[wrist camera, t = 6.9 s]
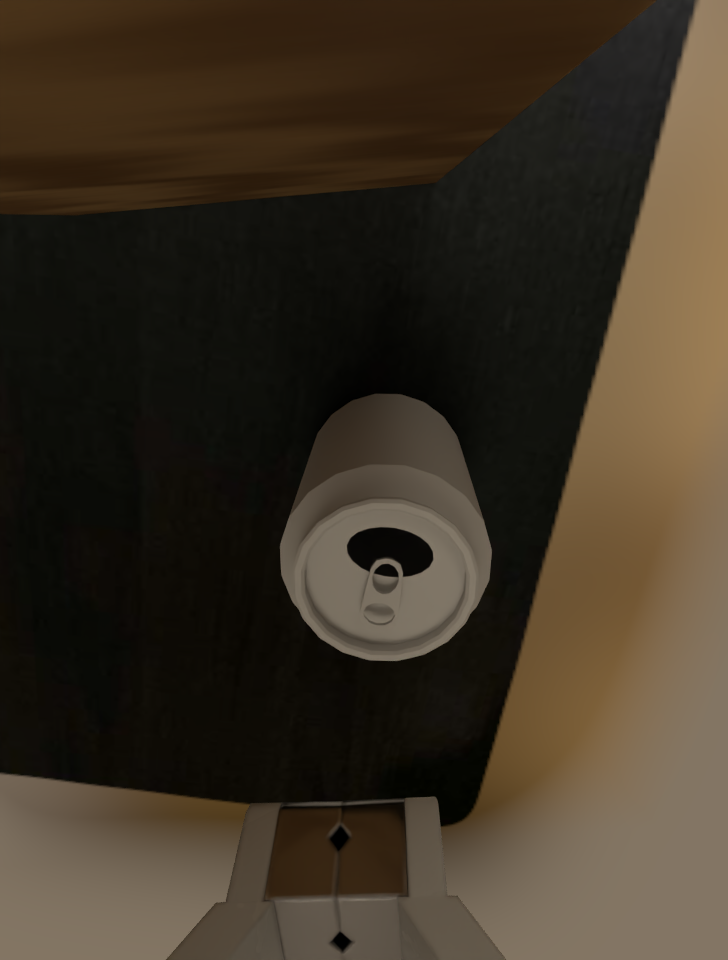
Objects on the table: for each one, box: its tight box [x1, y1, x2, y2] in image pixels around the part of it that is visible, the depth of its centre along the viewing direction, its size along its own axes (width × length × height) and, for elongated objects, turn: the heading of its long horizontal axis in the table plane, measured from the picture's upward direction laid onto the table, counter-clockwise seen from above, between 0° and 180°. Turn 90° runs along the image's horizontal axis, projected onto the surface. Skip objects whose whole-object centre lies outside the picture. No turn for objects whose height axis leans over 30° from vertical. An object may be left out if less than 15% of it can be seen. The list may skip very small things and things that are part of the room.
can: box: [280, 394, 492, 661], centre depth 27 cm, size 8×8×12 cm
